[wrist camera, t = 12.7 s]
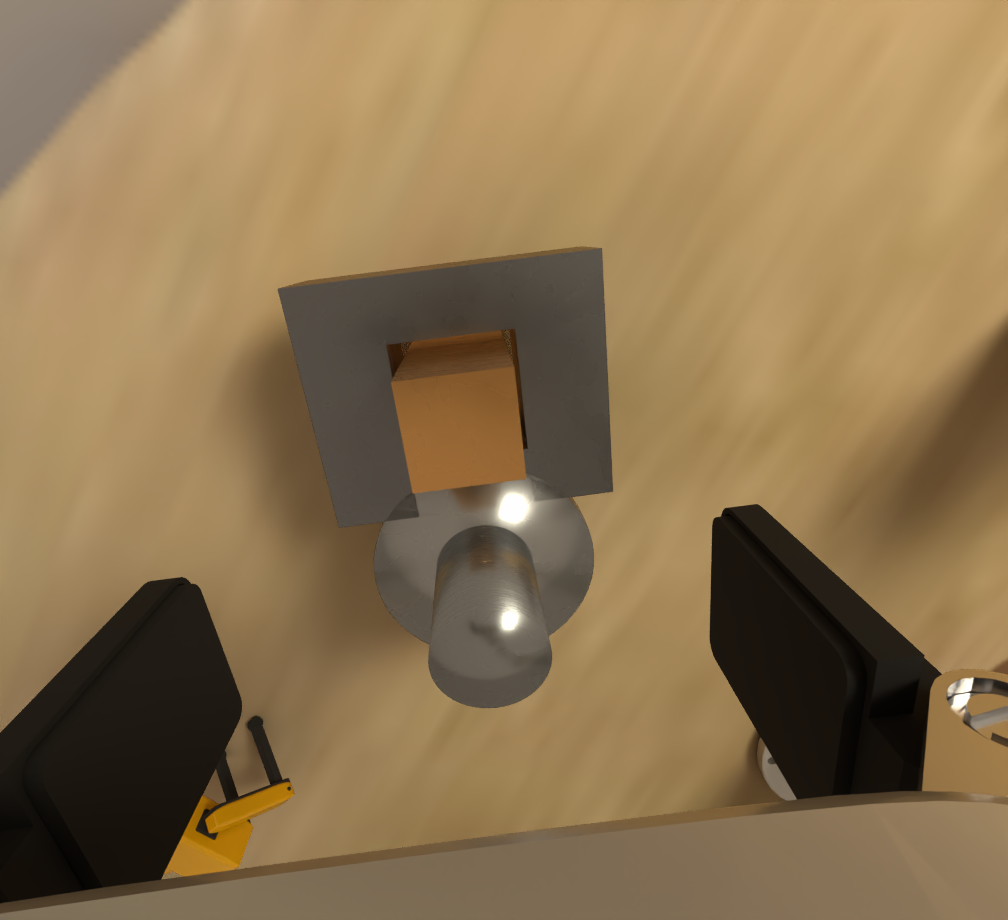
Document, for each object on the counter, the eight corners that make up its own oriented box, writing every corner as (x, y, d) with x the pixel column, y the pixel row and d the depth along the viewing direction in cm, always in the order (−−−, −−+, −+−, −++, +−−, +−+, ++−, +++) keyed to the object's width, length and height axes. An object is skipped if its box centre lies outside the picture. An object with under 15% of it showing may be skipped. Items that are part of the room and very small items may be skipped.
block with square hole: (565, 244, 28) (652, 253, 15) (586, 552, 35) (658, 740, 22) (327, 274, 28) (207, 308, 15) (395, 577, 35) (353, 782, 22)
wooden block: (504, 390, 31) (526, 478, 20) (432, 400, 31) (412, 493, 19) (496, 316, 29) (514, 366, 18) (419, 326, 29) (391, 382, 18)
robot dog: (72, 593, 34) (-156, 802, 21) (311, 741, 39) (240, 975, 27) (22, 649, 35) (-221, 877, 23) (261, 784, 40) (170, 1027, 28)
